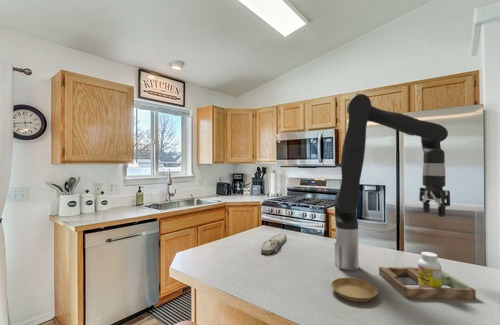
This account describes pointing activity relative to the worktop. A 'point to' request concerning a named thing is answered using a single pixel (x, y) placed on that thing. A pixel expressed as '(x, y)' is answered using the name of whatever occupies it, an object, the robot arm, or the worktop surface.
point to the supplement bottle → (429, 271)
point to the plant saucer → (354, 289)
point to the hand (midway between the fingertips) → (433, 214)
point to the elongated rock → (273, 243)
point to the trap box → (410, 276)
